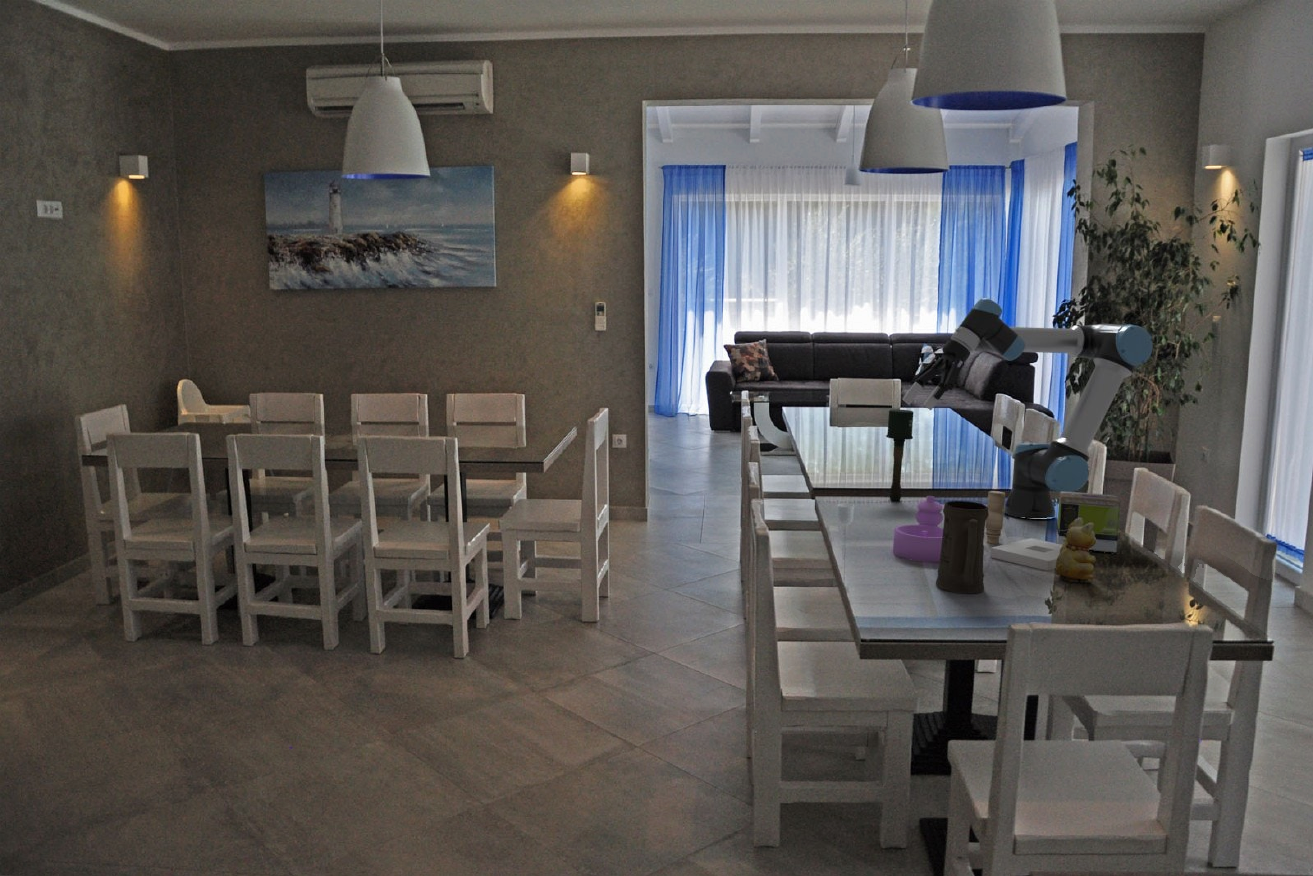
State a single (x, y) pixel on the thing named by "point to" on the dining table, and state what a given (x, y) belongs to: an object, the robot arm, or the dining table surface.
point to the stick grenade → (898, 444)
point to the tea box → (1090, 517)
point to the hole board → (1029, 553)
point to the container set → (921, 534)
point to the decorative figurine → (1077, 553)
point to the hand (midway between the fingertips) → (916, 404)
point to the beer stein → (962, 547)
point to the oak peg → (995, 516)
